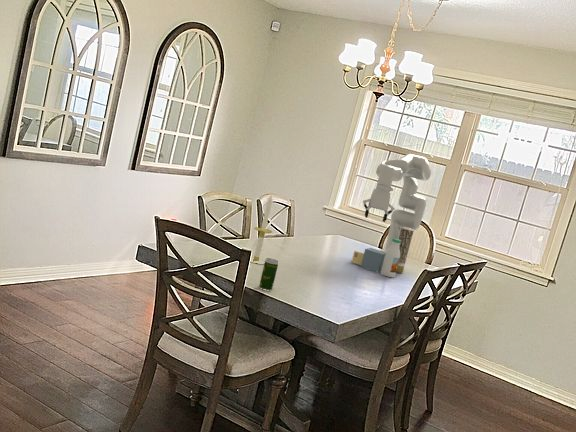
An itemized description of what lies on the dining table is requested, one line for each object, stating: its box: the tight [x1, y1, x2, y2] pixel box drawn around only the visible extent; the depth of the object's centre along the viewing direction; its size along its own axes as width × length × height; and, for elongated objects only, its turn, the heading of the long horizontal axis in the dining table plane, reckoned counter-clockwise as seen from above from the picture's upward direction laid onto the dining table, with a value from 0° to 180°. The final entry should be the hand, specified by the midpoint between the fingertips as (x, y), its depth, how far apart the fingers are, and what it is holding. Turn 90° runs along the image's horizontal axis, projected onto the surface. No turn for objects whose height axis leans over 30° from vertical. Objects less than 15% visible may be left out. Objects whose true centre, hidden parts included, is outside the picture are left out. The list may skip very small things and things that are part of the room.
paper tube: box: [396, 227, 415, 274], centre depth 373 cm, size 7×7×25 cm
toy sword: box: [253, 193, 273, 262], centre depth 311 cm, size 10×10×32 cm
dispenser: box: [360, 247, 386, 273], centre depth 365 cm, size 10×10×10 cm
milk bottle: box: [380, 238, 401, 278], centre depth 356 cm, size 8×8×20 cm
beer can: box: [258, 257, 279, 291], centre depth 266 cm, size 5×5×12 cm
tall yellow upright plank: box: [351, 250, 364, 266], centre depth 368 cm, size 1×12×6 cm, turn 65°
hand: (374, 219), depth 360 cm, fingers open, 9 cm apart
